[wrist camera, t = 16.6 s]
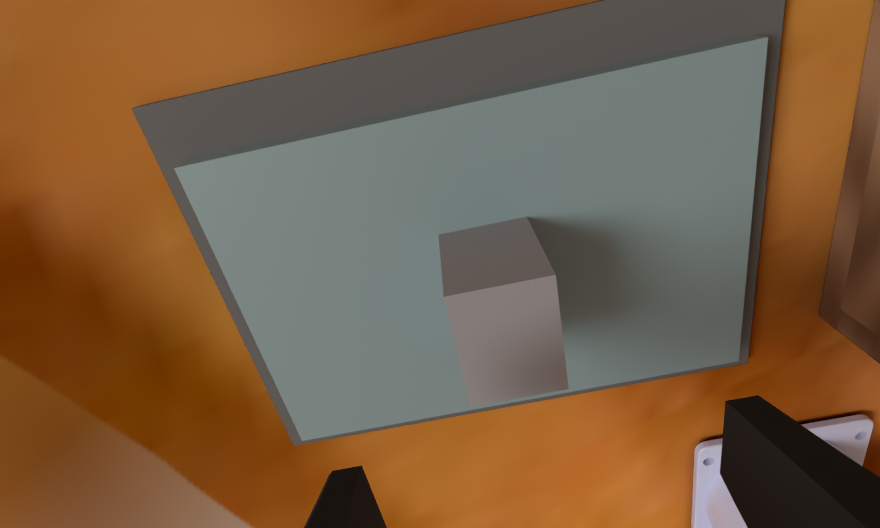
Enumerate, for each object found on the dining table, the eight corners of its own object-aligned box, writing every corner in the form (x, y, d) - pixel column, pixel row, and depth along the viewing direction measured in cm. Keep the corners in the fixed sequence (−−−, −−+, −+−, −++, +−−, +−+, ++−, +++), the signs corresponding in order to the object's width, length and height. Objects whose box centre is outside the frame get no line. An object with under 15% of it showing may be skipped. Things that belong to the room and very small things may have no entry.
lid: (725, 345, 21) (807, 438, 16) (306, 423, 22) (278, 530, 18) (748, 34, 15) (881, 48, 11) (187, 159, 16) (102, 217, 12)
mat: (742, 357, 22) (747, 363, 21) (295, 438, 23) (293, 445, 23) (780, -41, 15) (789, -43, 14) (138, 106, 16) (131, 108, 16)
